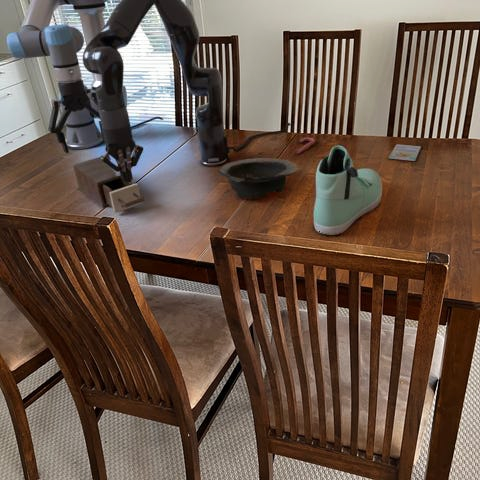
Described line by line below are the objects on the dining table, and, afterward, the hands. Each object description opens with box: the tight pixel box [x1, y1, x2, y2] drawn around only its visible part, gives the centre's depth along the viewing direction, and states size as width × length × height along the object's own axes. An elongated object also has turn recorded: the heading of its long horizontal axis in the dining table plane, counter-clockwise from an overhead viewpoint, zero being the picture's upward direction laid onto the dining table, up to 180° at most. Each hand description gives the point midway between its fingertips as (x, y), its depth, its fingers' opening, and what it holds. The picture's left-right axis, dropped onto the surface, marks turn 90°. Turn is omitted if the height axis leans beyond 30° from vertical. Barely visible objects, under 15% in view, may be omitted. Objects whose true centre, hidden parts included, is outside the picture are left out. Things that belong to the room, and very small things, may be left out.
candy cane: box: [295, 136, 316, 155], centre depth 183 cm, size 6×15×2 cm, turn 145°
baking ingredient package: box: [388, 143, 422, 162], centre depth 171 cm, size 9×1×15 cm
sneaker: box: [313, 145, 383, 236], centre depth 133 cm, size 14×35×20 cm, turn 152°
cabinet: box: [72, 156, 121, 208], centre depth 158 cm, size 20×10×8 cm, turn 37°
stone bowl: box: [217, 157, 299, 201], centre depth 152 cm, size 25×25×9 cm
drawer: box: [100, 178, 145, 214], centre depth 150 cm, size 25×9×7 cm, turn 37°
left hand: (86, 146), depth 158 cm, fingers open, 13 cm apart
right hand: (127, 181), depth 139 cm, fingers closed
